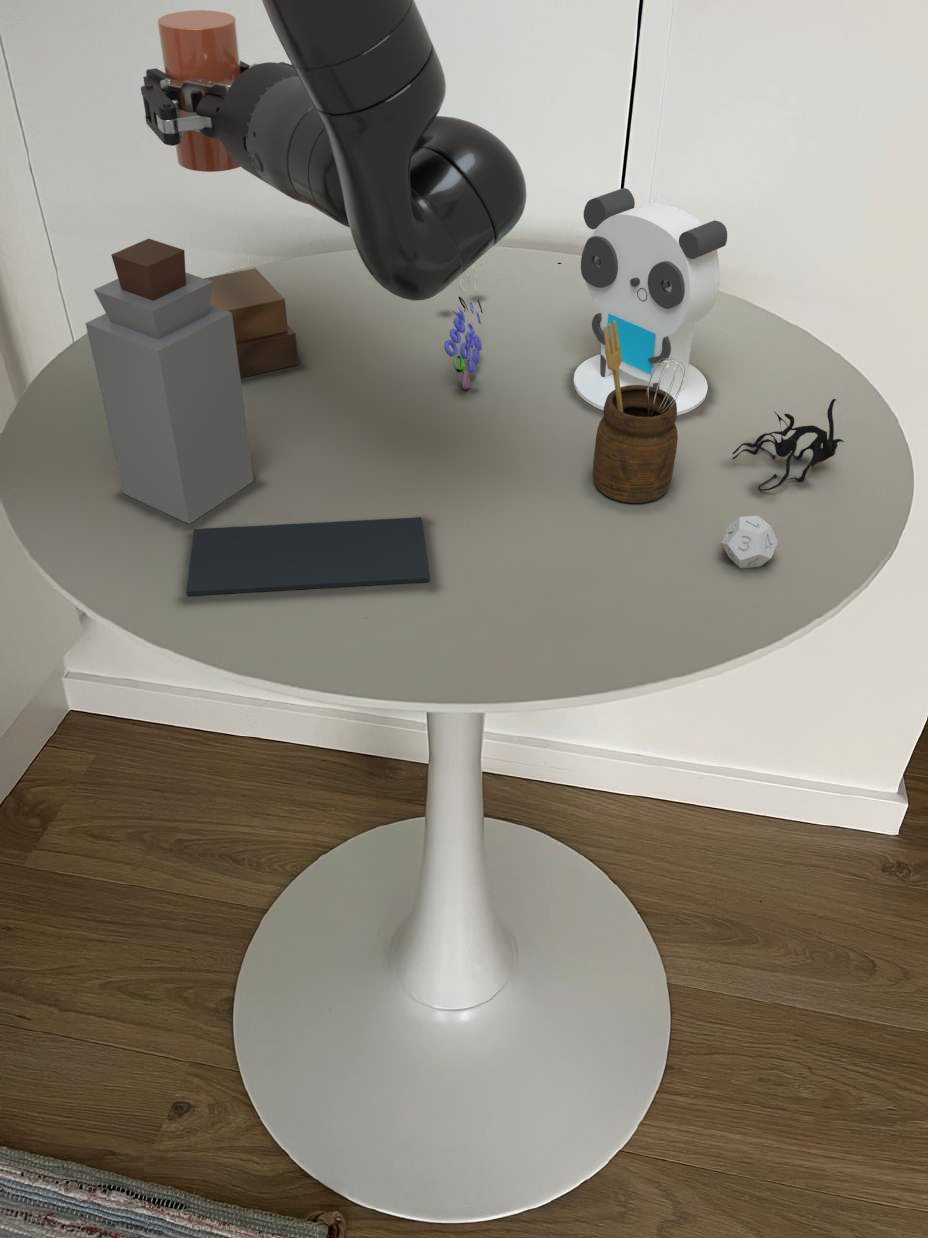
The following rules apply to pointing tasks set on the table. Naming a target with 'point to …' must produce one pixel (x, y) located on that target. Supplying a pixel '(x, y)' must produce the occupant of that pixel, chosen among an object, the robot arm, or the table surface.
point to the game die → (749, 542)
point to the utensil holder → (635, 435)
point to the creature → (791, 445)
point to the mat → (307, 556)
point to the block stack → (256, 321)
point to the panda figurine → (648, 294)
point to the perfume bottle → (170, 384)
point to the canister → (200, 73)
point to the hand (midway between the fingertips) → (189, 76)
